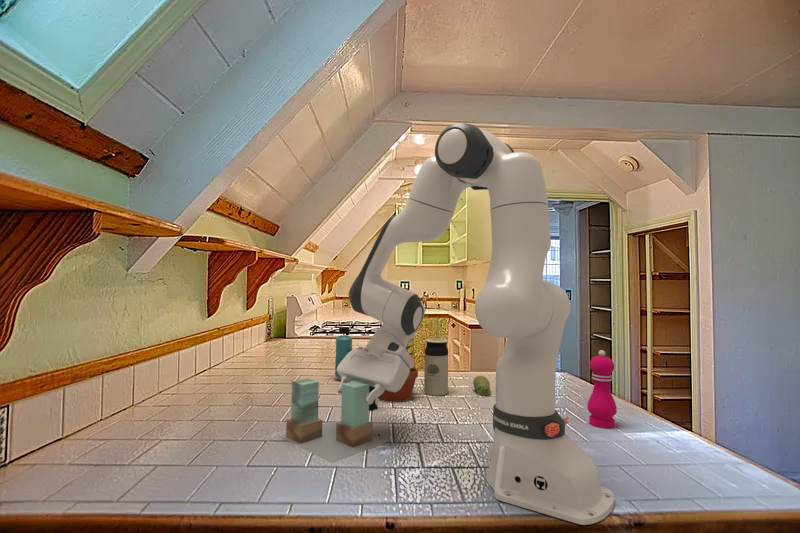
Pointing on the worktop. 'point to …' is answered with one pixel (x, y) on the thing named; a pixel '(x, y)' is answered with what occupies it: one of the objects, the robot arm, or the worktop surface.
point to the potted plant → (406, 388)
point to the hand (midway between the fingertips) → (353, 398)
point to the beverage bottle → (342, 347)
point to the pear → (482, 385)
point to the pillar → (354, 404)
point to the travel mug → (436, 367)
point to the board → (333, 444)
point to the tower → (304, 412)
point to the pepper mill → (602, 392)
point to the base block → (354, 434)
